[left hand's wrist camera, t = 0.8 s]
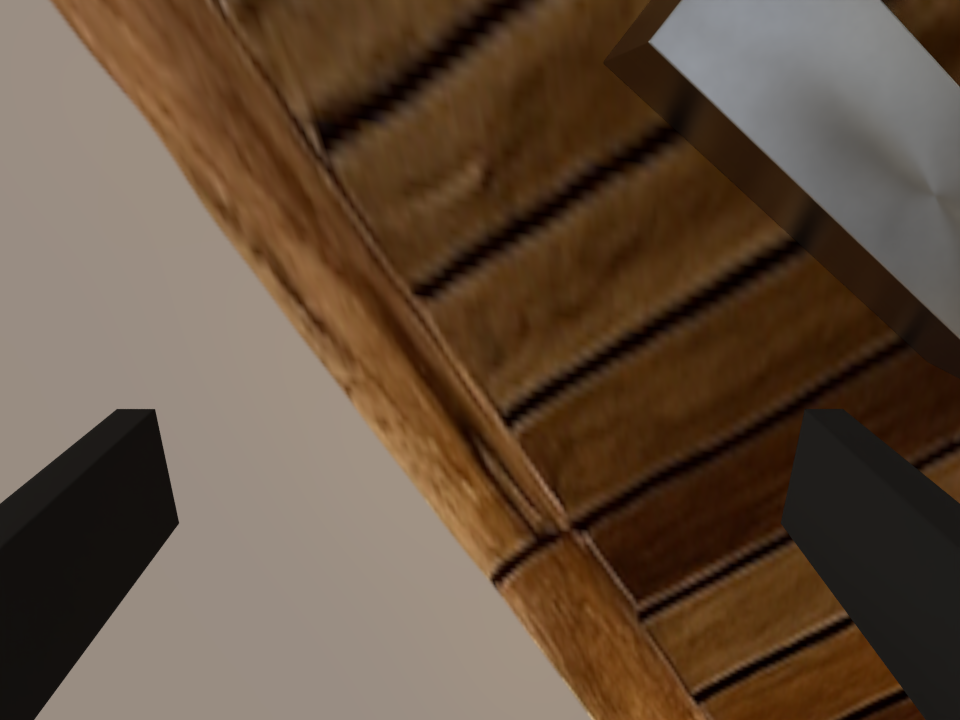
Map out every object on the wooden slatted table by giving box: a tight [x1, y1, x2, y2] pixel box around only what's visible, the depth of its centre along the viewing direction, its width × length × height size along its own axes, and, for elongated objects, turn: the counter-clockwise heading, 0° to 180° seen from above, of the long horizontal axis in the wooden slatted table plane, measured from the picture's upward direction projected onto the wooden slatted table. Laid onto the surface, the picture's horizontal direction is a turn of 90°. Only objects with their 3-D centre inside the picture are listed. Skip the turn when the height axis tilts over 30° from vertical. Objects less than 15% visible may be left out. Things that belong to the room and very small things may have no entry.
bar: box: [604, 0, 960, 378], centre depth 27 cm, size 24×6×8 cm, turn 52°
